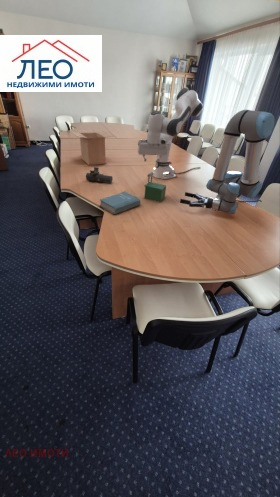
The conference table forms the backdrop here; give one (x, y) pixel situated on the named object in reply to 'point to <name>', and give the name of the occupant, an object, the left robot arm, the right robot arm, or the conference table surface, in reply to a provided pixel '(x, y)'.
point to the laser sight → (98, 176)
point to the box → (92, 146)
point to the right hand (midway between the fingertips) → (182, 197)
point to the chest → (155, 194)
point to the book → (119, 202)
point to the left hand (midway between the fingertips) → (151, 161)
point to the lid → (154, 185)
